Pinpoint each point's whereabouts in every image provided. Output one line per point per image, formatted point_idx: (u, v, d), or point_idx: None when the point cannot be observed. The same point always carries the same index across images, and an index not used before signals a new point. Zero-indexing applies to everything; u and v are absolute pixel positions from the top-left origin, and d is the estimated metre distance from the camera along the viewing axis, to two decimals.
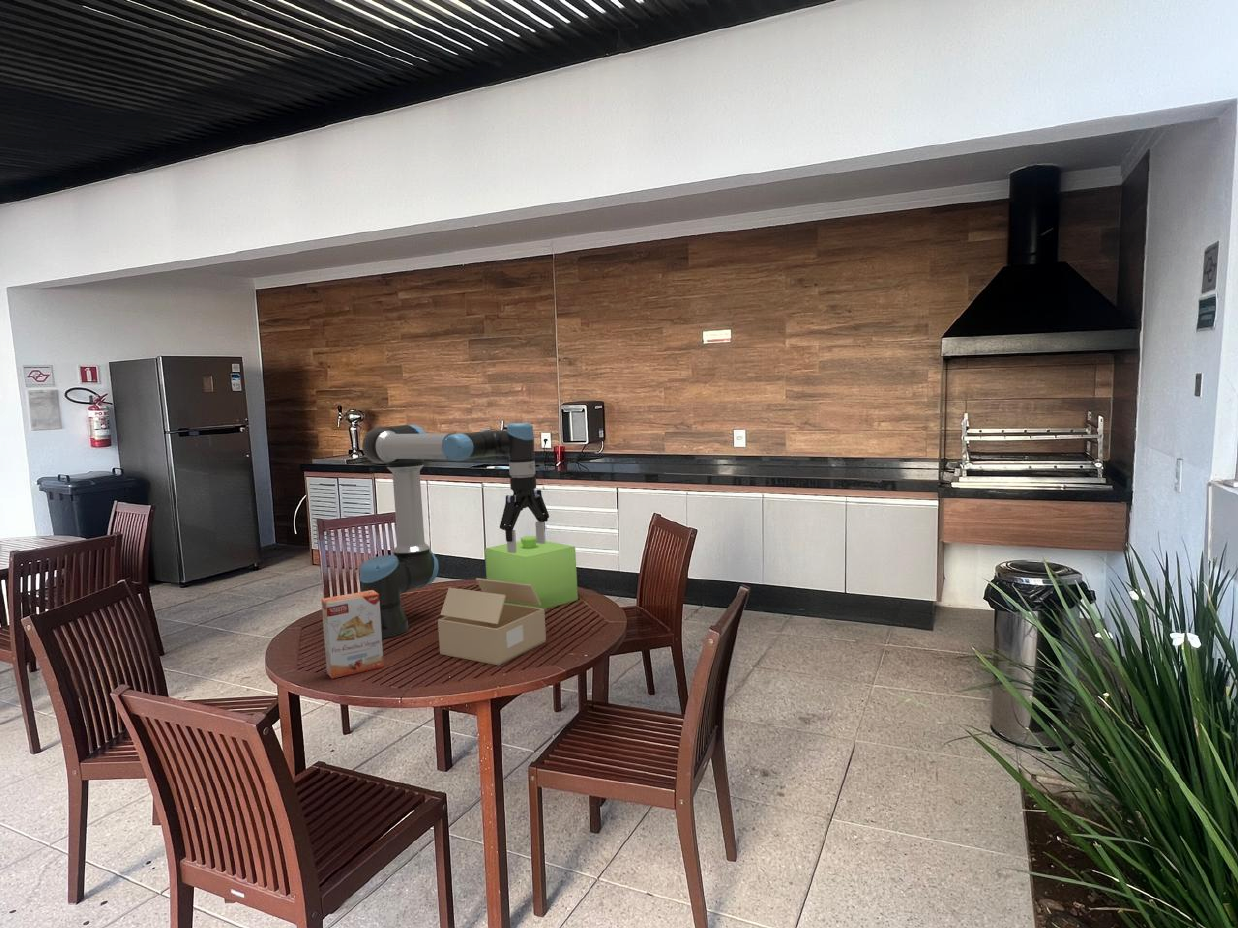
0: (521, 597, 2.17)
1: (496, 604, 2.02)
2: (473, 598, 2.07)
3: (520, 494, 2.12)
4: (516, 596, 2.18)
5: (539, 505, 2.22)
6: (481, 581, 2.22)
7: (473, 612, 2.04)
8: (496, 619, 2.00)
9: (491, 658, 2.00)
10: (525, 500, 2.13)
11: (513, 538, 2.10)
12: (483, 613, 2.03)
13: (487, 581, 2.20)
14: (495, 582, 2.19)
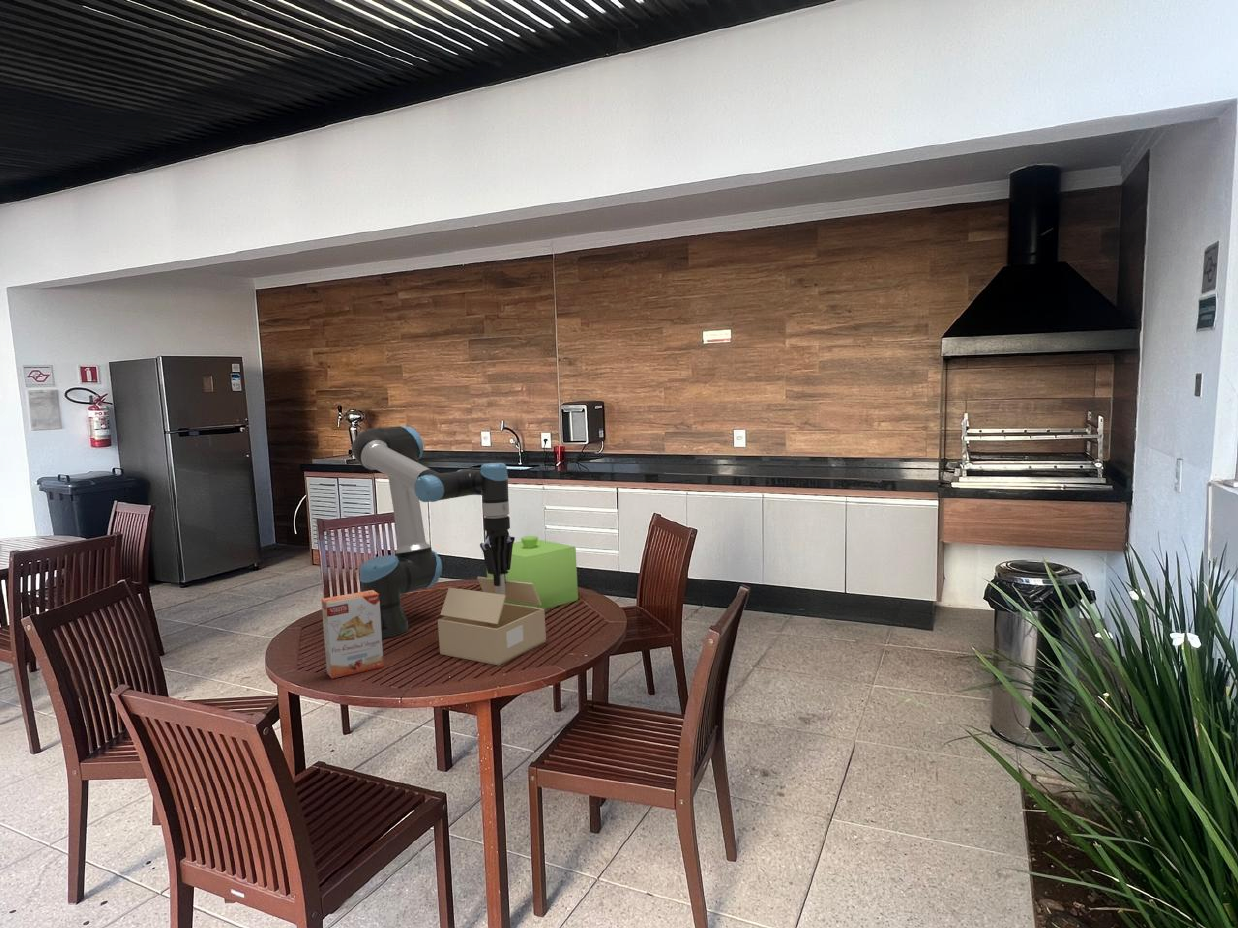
0: (521, 597, 2.18)
1: (496, 604, 2.02)
2: (473, 598, 2.07)
3: (492, 535, 2.11)
4: (516, 595, 2.18)
5: (506, 552, 2.18)
6: (482, 580, 2.22)
7: (473, 612, 2.04)
8: (496, 619, 2.00)
9: (491, 658, 2.00)
10: (499, 541, 2.13)
11: (501, 582, 2.15)
12: (483, 613, 2.03)
13: (488, 580, 2.21)
14: None
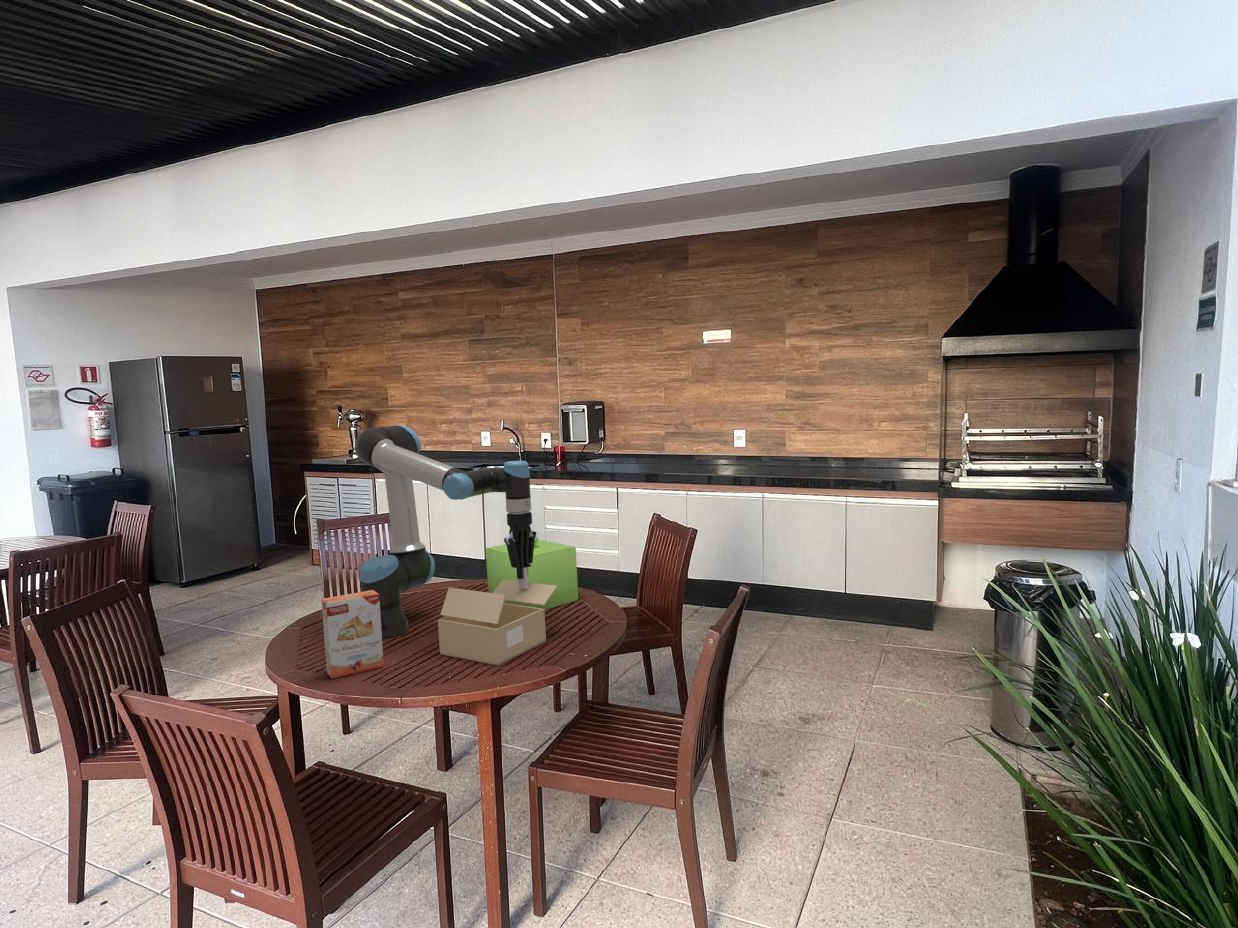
0: (531, 596, 2.21)
1: (496, 604, 2.02)
2: (473, 598, 2.07)
3: (515, 530, 2.20)
4: (527, 595, 2.22)
5: (528, 546, 2.27)
6: (506, 581, 2.32)
7: (473, 612, 2.04)
8: (496, 619, 2.00)
9: (491, 658, 2.00)
10: (522, 536, 2.21)
11: (524, 575, 2.24)
12: (483, 613, 2.03)
13: (513, 581, 2.31)
14: None
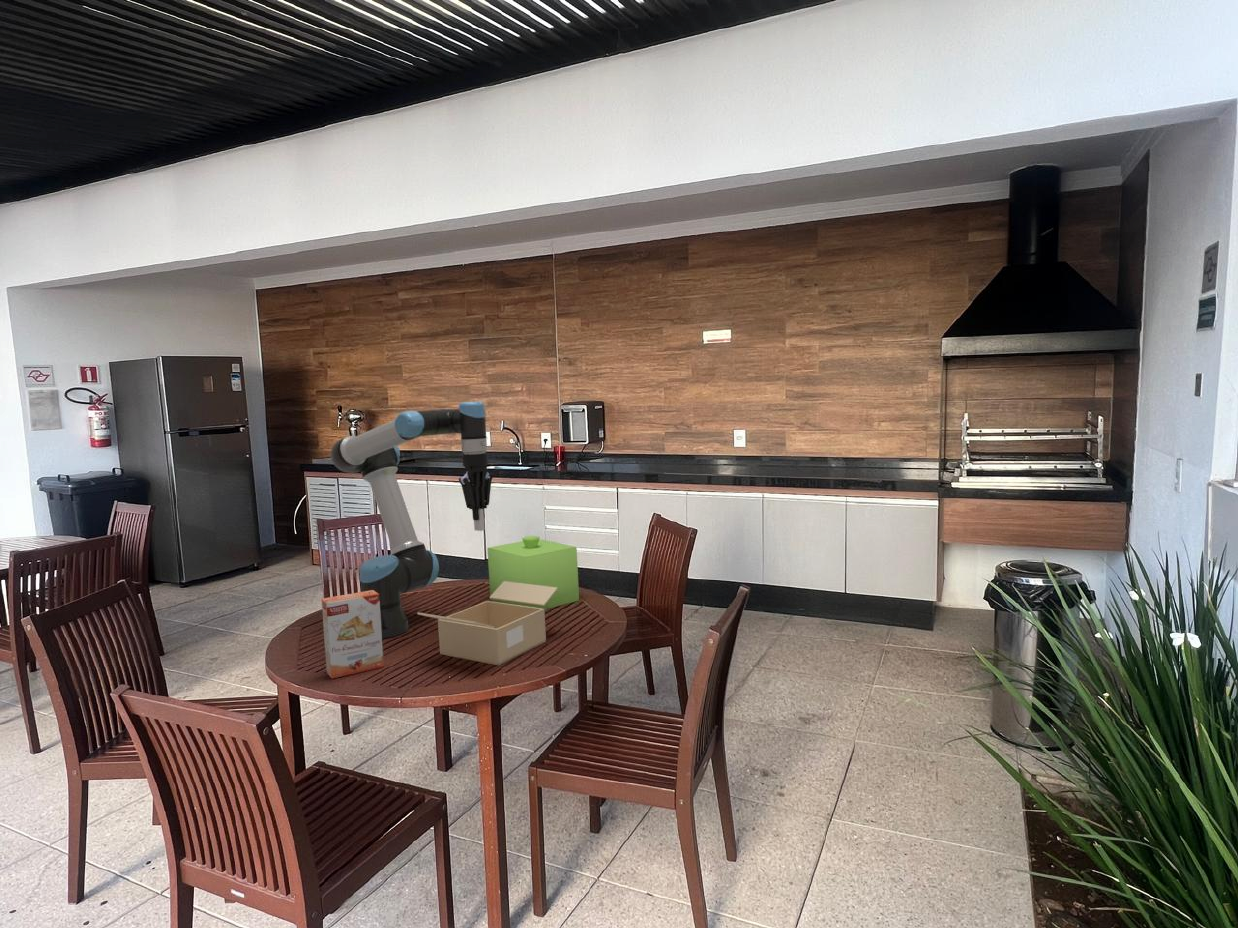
0: (531, 597, 2.22)
1: (476, 624, 1.95)
2: None
3: (470, 471, 2.19)
4: (527, 596, 2.23)
5: (485, 488, 2.26)
6: (507, 582, 2.32)
7: (463, 622, 2.01)
8: None
9: (491, 658, 2.00)
10: (477, 477, 2.21)
11: (479, 517, 2.23)
12: (473, 624, 1.99)
13: (514, 583, 2.31)
14: (522, 584, 2.29)
